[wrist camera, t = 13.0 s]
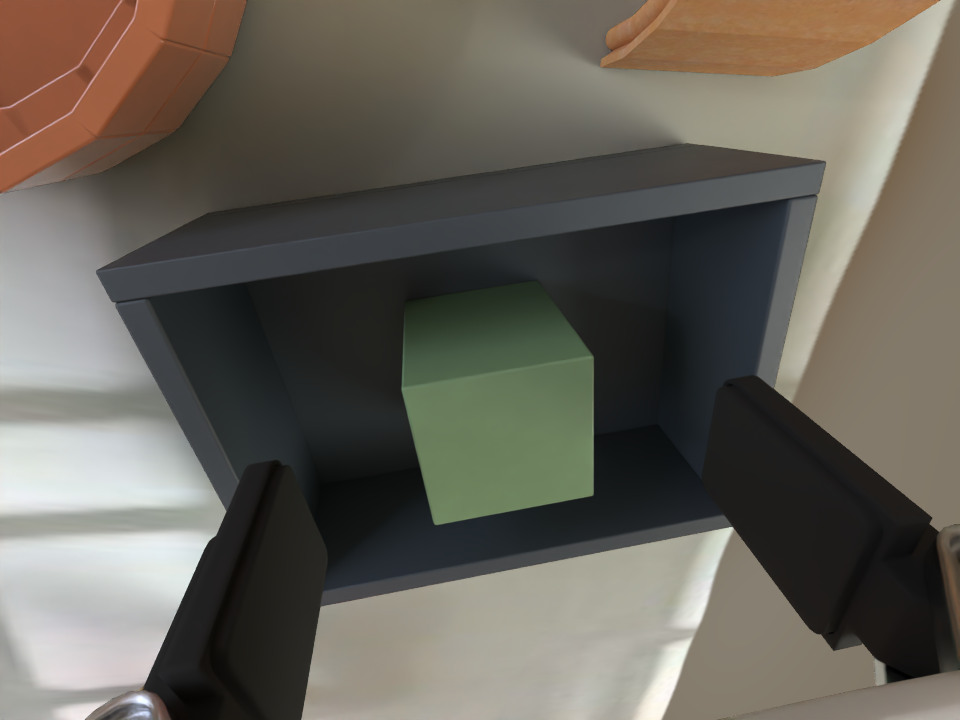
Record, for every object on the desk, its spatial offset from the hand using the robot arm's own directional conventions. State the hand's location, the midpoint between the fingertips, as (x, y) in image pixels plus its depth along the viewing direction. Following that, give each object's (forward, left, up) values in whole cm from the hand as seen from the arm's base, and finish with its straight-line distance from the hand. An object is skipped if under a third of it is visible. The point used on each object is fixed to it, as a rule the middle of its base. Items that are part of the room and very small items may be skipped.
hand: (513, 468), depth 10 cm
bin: (+1, 0, -8) cm, 8 cm away
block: (+1, 0, -7) cm, 7 cm away
